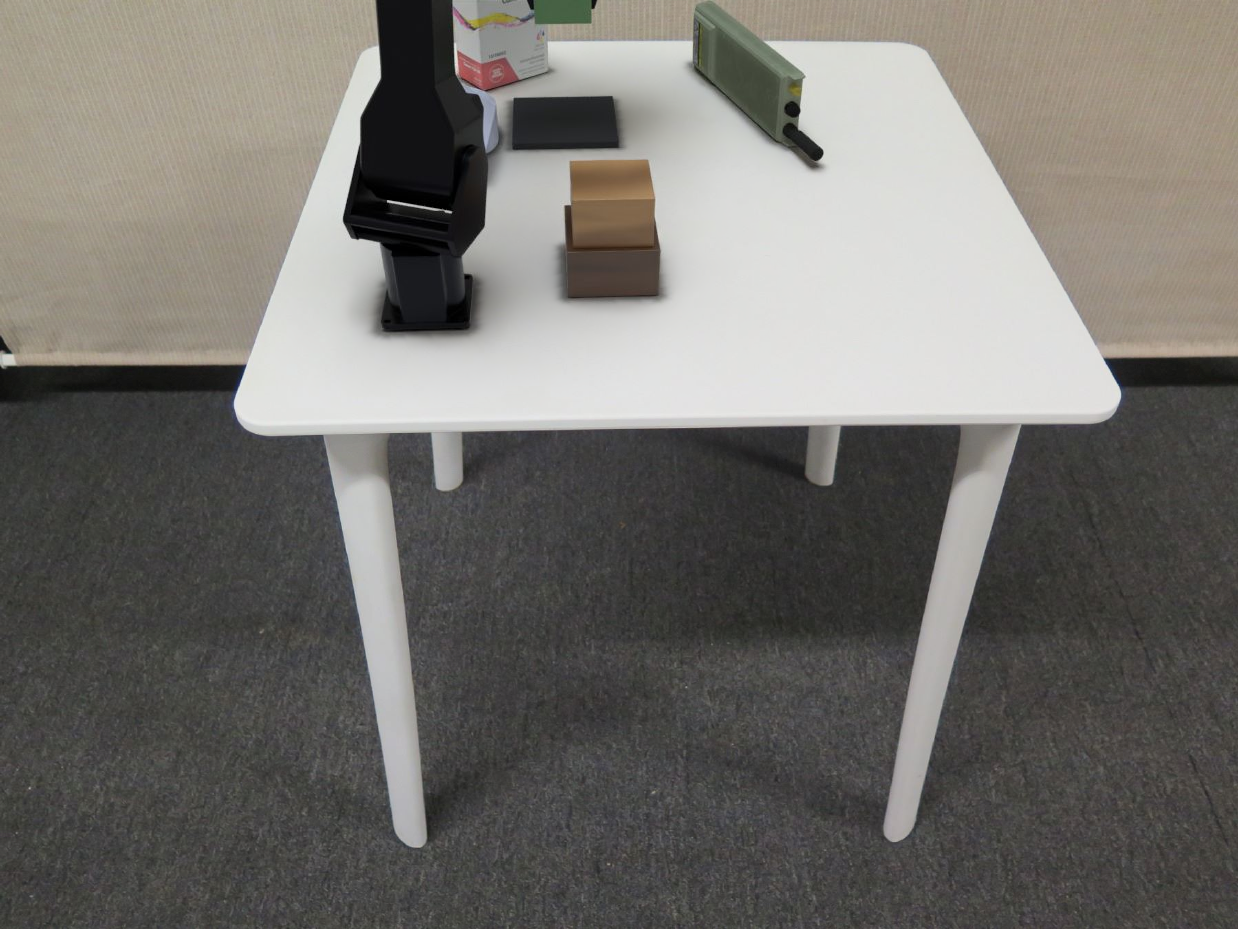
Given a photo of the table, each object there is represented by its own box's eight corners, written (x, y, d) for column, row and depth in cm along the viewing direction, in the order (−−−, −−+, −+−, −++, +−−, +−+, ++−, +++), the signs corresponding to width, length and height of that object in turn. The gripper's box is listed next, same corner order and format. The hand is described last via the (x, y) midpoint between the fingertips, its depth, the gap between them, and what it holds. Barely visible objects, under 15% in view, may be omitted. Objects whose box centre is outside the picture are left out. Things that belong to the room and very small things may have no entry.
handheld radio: (716, 61, 110) (833, 164, 93) (688, 67, 109) (801, 172, 93) (718, -2, 105) (842, 94, 89) (689, 3, 105) (809, 101, 88)
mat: (618, 147, 96) (618, 141, 95) (512, 149, 95) (512, 143, 95) (612, 101, 103) (612, 95, 102) (513, 102, 102) (513, 97, 102)
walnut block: (658, 295, 78) (660, 250, 75) (567, 297, 78) (566, 252, 75) (650, 246, 83) (652, 202, 80) (565, 248, 83) (564, 204, 80)
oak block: (653, 246, 76) (655, 198, 73) (573, 248, 75) (571, 200, 72) (646, 205, 80) (648, 158, 77) (570, 207, 80) (569, 160, 77)
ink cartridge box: (484, 92, 104) (471, -63, 94) (457, 77, 107) (442, -76, 96) (551, 71, 108) (546, -80, 98) (524, 56, 111) (516, -92, 100)
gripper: (665, -218, 86) (658, -25, 97) (444, -218, 85) (462, -23, 96) (679, -188, 78) (669, 19, 89) (435, -188, 77) (455, 22, 88)
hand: (562, 7), depth 91 cm, fingers closed on green block, 5 cm apart
